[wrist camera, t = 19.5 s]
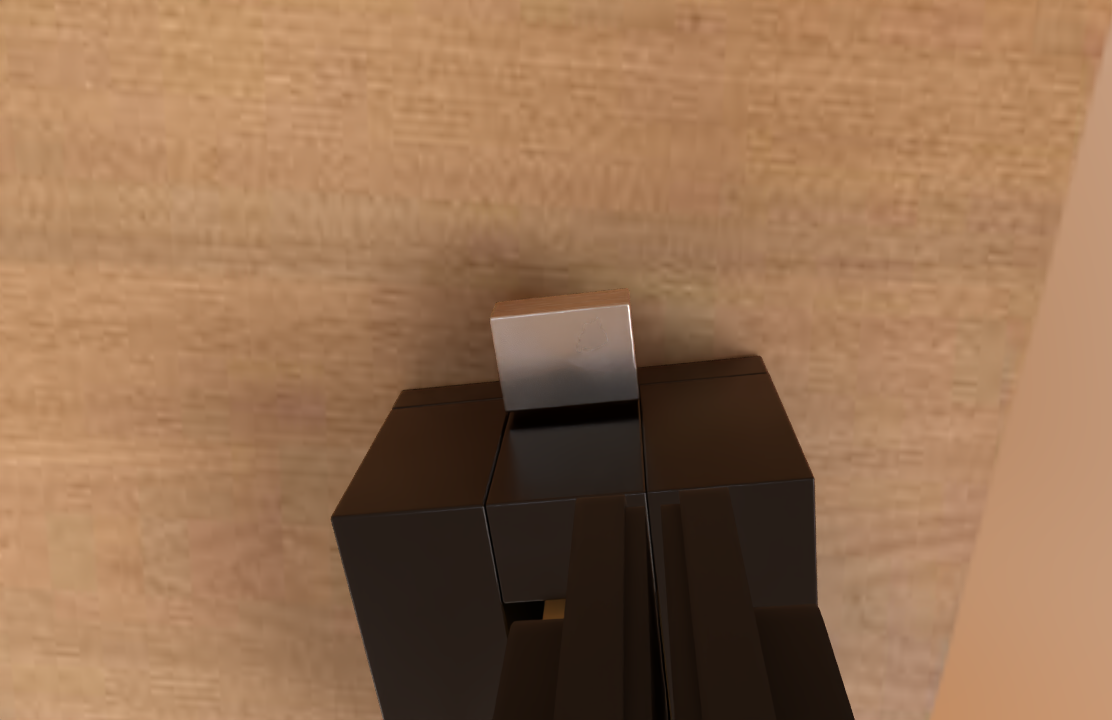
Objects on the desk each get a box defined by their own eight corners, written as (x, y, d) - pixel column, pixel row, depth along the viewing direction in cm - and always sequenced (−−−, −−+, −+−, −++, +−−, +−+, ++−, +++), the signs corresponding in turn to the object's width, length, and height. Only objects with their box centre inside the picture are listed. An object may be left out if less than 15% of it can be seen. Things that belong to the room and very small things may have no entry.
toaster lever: (628, 287, 25) (629, 302, 24) (638, 380, 26) (639, 400, 25) (495, 301, 26) (488, 318, 24) (510, 392, 27) (504, 413, 25)
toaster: (761, 354, 28) (814, 477, 20) (779, 733, 34) (826, 937, 26) (401, 389, 29) (328, 517, 22) (478, 749, 35) (441, 947, 27)
